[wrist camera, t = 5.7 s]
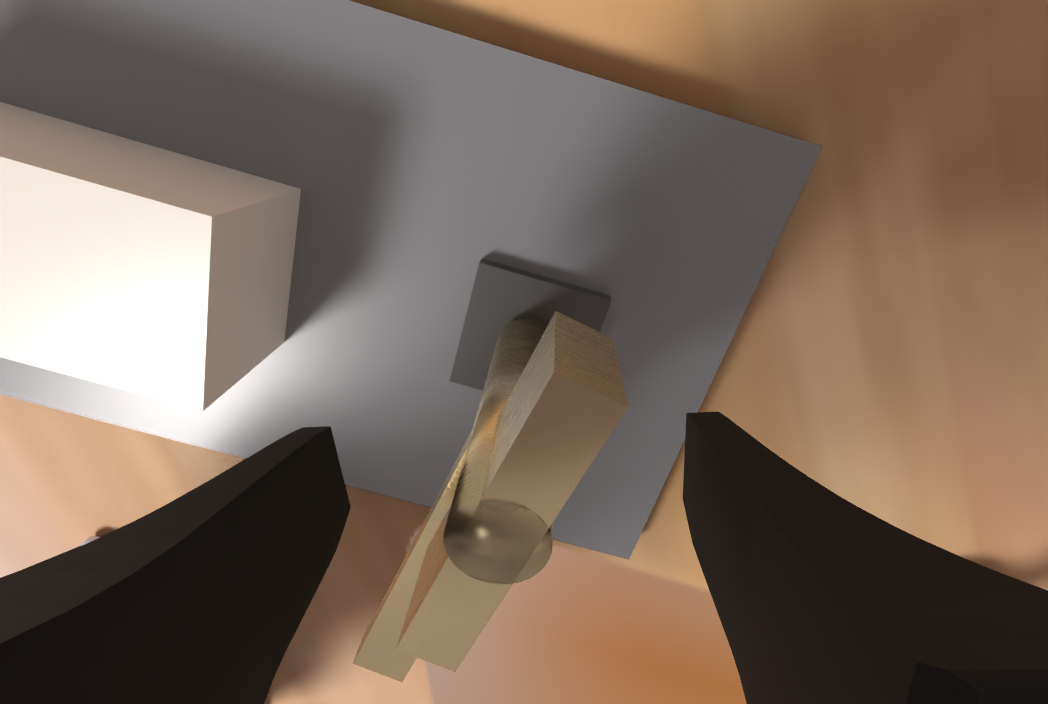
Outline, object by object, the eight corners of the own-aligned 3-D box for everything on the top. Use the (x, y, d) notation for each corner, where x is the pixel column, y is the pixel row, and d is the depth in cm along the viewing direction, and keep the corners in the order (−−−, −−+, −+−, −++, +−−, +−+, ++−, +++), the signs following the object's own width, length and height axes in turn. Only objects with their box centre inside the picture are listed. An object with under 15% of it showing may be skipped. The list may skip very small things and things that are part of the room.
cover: (284, 342, 18) (202, 411, 14) (-30, 256, 18) (-209, 301, 14) (300, 188, 16) (211, 216, 12) (-53, 86, 16) (-271, 79, 12)
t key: (605, 266, 16) (646, 415, 8) (440, 559, 20) (368, 828, 13) (548, 237, 16) (534, 363, 8) (394, 540, 20) (293, 802, 13)
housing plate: (625, 540, 22) (630, 569, 20) (0, 375, 21) (-40, 394, 19) (807, 144, 16) (830, 147, 14) (-61, -124, 15) (-126, -148, 13)
